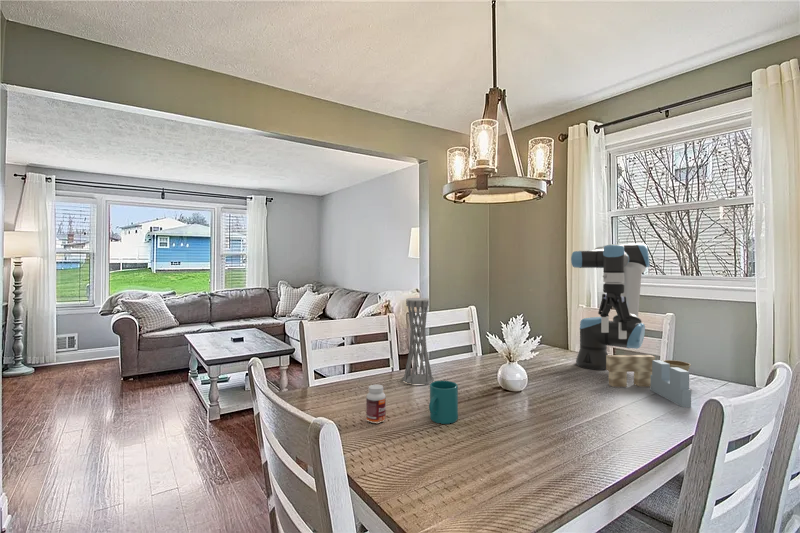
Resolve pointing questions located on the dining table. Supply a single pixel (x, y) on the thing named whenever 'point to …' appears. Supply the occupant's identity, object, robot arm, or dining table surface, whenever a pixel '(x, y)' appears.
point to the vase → (418, 343)
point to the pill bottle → (376, 404)
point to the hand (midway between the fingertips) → (613, 335)
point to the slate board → (671, 383)
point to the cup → (443, 402)
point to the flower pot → (678, 364)
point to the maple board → (629, 369)
